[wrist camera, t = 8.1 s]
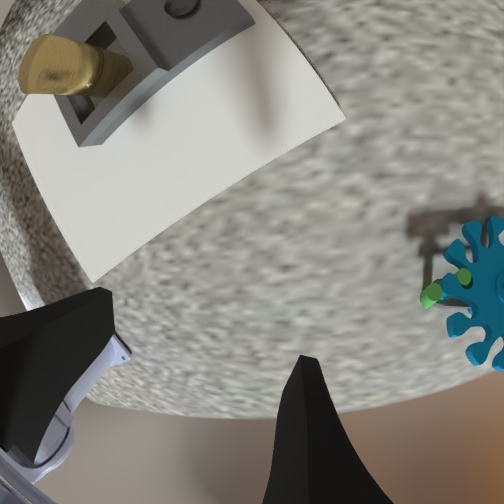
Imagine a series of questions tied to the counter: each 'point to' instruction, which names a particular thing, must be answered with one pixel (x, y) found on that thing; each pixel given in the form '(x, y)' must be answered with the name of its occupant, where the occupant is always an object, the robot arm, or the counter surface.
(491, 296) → the gear
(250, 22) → the plate
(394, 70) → the counter surface
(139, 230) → the mat
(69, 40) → the pin
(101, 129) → the plate
